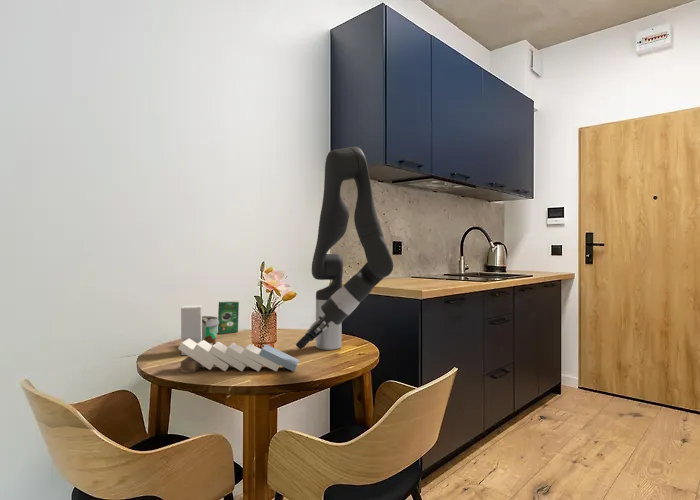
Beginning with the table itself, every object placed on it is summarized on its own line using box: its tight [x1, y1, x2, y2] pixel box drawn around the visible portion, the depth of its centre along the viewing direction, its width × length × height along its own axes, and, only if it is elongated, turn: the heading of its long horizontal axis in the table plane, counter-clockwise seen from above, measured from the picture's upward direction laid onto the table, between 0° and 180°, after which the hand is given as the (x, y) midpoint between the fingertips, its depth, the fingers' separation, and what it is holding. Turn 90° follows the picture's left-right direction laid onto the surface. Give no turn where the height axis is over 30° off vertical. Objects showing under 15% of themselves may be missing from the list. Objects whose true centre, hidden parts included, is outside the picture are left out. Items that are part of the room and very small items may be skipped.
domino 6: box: [259, 344, 300, 373], centre depth 126 cm, size 2×6×11 cm
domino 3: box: [209, 341, 248, 372], centre depth 126 cm, size 2×6×11 cm
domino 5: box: [242, 343, 281, 372], centre depth 126 cm, size 2×6×11 cm
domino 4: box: [225, 342, 264, 373], centre depth 126 cm, size 2×6×11 cm
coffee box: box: [217, 300, 240, 335], centre depth 180 cm, size 8×3×13 cm, turn 124°
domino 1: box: [177, 338, 216, 370], centre depth 126 cm, size 2×6×11 cm
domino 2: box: [193, 340, 232, 372], centre depth 126 cm, size 2×6×11 cm
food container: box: [202, 315, 219, 346], centre depth 157 cm, size 12×6×10 cm, turn 34°
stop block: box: [180, 356, 204, 373], centre depth 126 cm, size 4×8×3 cm, turn 0°
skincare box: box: [180, 304, 203, 356], centre depth 146 cm, size 8×7×16 cm
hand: (298, 346), depth 126 cm, fingers closed
